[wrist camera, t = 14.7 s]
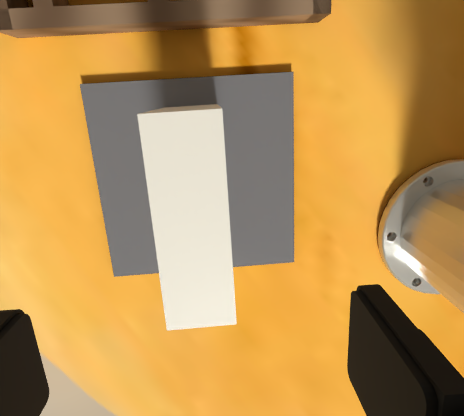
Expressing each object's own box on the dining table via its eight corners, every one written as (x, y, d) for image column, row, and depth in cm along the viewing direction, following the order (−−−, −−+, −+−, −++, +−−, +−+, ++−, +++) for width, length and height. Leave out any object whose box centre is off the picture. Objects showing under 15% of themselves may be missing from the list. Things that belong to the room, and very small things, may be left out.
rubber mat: (291, 72, 27) (293, 71, 27) (292, 259, 32) (294, 262, 32) (82, 84, 27) (79, 84, 26) (115, 273, 32) (114, 276, 31)
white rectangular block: (217, 104, 27) (222, 108, 17) (227, 246, 31) (236, 324, 20) (165, 107, 27) (137, 114, 16) (181, 250, 31) (167, 330, 20)
